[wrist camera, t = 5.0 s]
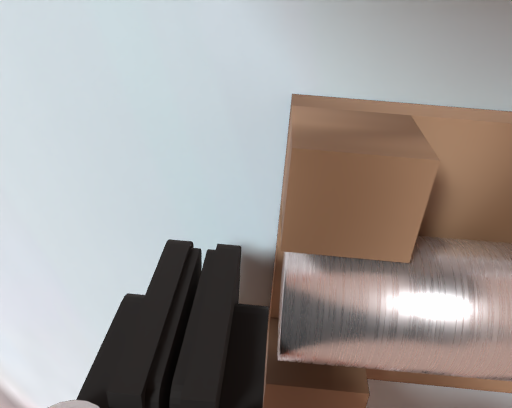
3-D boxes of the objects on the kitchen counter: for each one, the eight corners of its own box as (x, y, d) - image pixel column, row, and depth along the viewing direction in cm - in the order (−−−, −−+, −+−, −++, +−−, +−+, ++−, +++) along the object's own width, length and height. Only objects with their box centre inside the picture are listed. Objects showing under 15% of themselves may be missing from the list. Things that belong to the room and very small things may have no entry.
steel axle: (698, 241, 11) (847, 300, 8) (660, 349, 12) (782, 437, 9) (287, 209, 11) (289, 254, 8) (277, 316, 12) (276, 391, 9)
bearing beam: (791, 134, 10) (965, 204, 7) (611, 381, 14) (681, 480, 12) (292, 93, 10) (291, 148, 8) (265, 348, 15) (259, 436, 12)
